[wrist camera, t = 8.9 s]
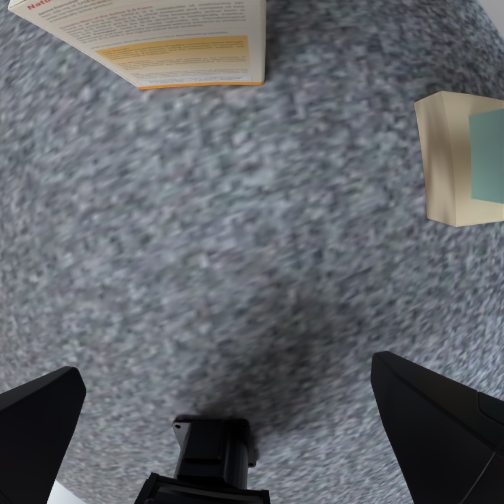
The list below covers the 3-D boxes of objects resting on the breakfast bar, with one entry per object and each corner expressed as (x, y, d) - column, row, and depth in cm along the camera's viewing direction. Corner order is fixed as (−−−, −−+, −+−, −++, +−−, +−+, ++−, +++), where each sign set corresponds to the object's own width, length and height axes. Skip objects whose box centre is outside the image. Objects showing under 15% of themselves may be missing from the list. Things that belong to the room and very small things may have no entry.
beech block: (500, 209, 19) (532, 216, 15) (424, 217, 19) (456, 227, 15) (490, 110, 17) (522, 104, 13) (411, 103, 17) (441, 90, 13)
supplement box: (266, 24, 16) (273, -127, 3) (264, 87, 17) (271, -51, 4) (145, 30, 16) (45, -78, 3) (136, 91, 17) (0, 12, 5)
